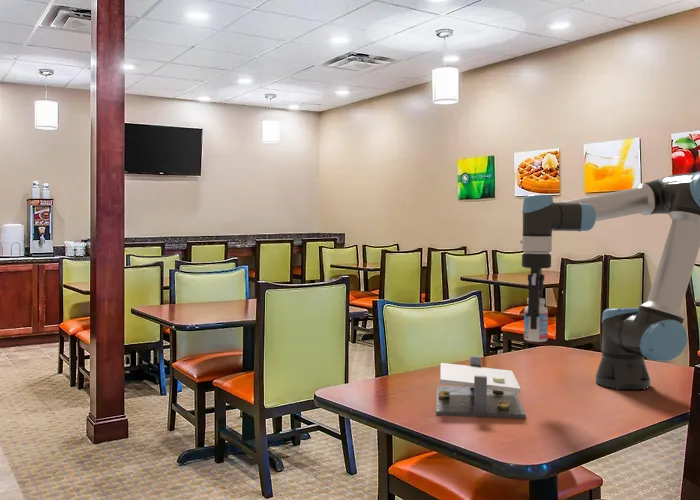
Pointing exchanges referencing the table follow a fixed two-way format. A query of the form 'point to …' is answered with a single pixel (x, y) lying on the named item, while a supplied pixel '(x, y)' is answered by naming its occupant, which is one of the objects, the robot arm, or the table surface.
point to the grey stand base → (478, 399)
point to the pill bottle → (542, 321)
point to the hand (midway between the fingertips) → (534, 339)
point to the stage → (465, 375)
